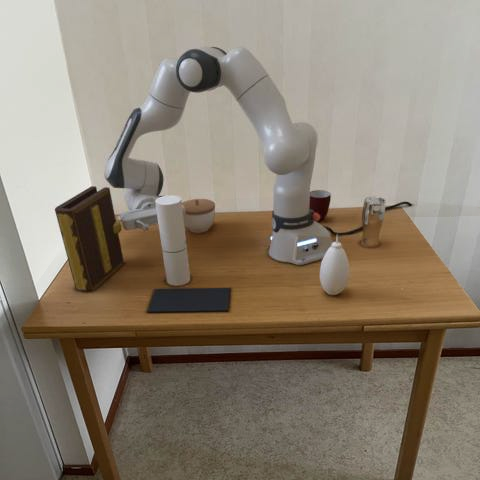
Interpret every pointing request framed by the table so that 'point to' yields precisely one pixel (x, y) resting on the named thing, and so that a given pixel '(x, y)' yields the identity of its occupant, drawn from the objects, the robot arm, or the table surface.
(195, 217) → the lidded bowl
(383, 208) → the beer glass
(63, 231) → the book
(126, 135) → the robot arm
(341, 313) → the table surface
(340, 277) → the white bulb air blower
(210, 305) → the felt mat
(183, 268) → the cylindrical container
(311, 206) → the mug
